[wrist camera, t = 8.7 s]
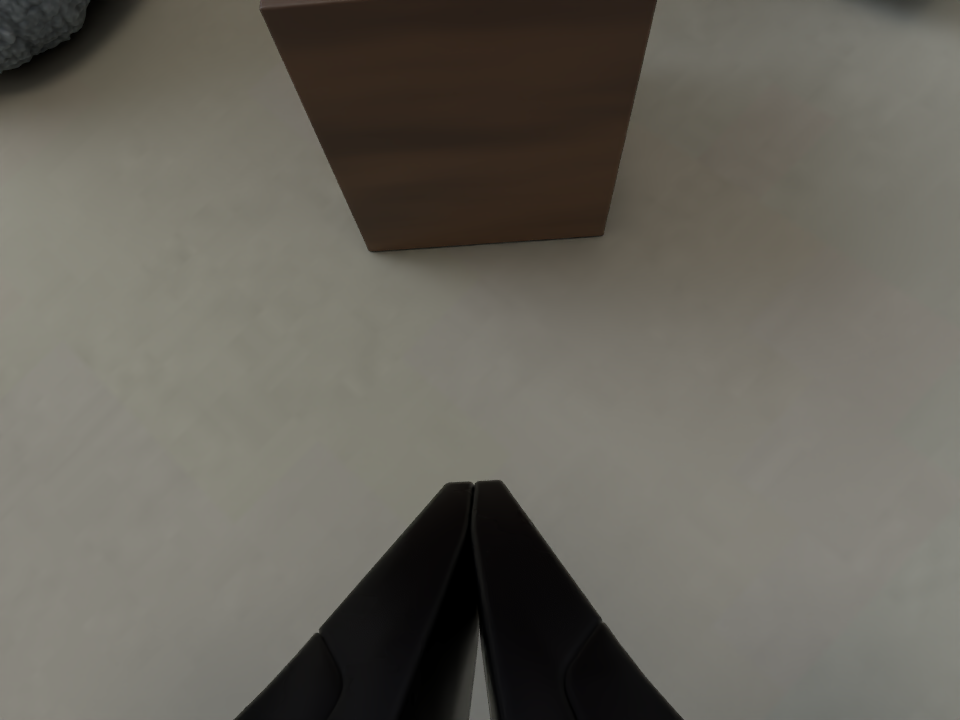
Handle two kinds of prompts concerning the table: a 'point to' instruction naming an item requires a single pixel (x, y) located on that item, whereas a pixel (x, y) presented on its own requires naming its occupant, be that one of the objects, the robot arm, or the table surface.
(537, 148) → the walnut block
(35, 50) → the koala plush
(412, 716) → the robot arm
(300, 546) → the table surface
